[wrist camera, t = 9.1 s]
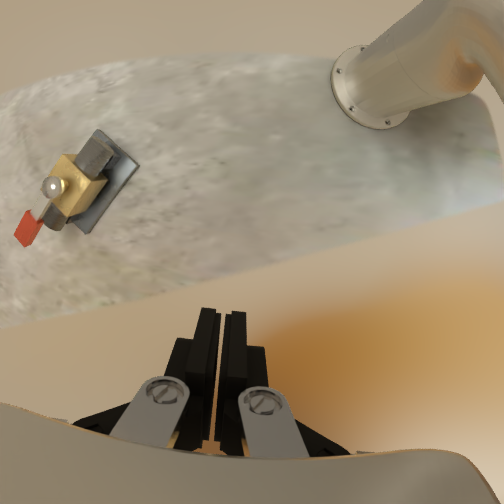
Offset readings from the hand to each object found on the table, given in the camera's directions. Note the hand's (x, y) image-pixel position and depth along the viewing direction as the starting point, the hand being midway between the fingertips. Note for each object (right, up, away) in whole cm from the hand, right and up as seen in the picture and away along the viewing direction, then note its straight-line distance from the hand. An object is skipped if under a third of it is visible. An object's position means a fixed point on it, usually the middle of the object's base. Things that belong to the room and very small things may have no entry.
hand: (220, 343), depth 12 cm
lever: (-22, +8, +17) cm, 30 cm away
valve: (-21, +13, +27) cm, 36 cm away
